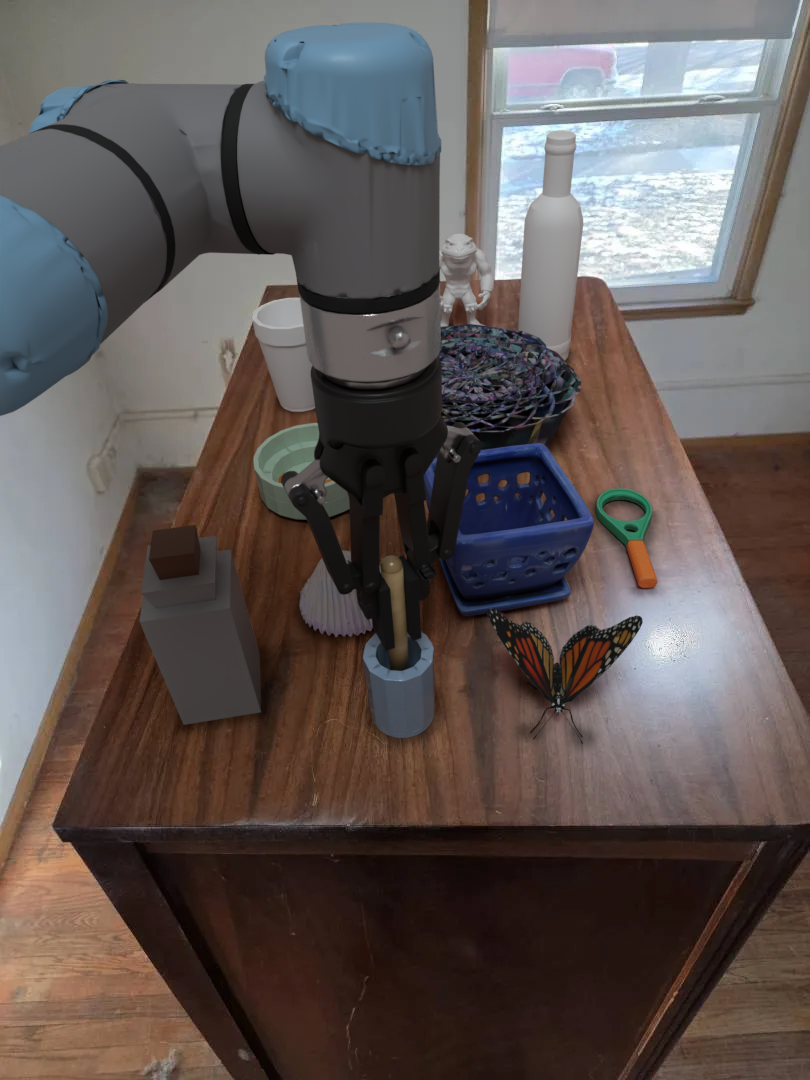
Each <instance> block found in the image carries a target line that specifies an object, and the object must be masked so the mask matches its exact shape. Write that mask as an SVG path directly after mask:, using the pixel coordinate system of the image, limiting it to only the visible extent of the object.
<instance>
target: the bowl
mask: <svg viewBox="0 0 810 1080" xmlns="http://www.w3.org/2000/svg"><path fill="white" fill-rule="evenodd" d="M318 438H319V429H318V423H317V422H309V423H304V424H303V423H302V424H297V425H293V426H290V427H287V428H285V429H282V430H279V431H278V432H276V433H274V434H273V435H271V436H269V437H267V438H266V439H265V440H264V441H263V442H262V443H261V444H260V445H259V446H257V448H256V450H255V453H254V455H253V458H252V460H253V470H254V474H255V479H256V483H257V487H258V491H259V496H260V499H261V501H262V502H263V503H264V505H265V506H266V508H267V509H269V510H270V511H272V512H274V513H275V514H277V515H279V516H281V517H285V518H288V519H292V520H306V521H307V519H306V517H305V516H304V515H303V514H302V513H301V512H299V511H298V510H297V509H296V508H295V507H294V506H293V504H292V502H291V500H290V499H289V497H288V495H287V493H286V491H285V489H284V487H283V485H282V483H278V479H279V477H280V476H281V475H282V474H283V473H286V472H288V471H295V472H297V473H298V474H299V473H300V472H301V471H302V470H304V469H305V468H306V467H307V466H308V465H310V464H311V463H312V462H313V461H314V460H315V458H314V450H315V447H316V444H317V442H318ZM328 479H330V478H327V479H326V480H328ZM324 485H325V489H326V491H327V494H326V497H325V498H326V501H325V503H324V504H322V505H323V506H324V508H325V510H326V512H327V513H328V515H329V518H332V517H334V516H337V515H339V514H342V513H345V512H347V511H348V510H349V511H350V506H349V496H348V493H347V491H346V490H344V489H343V488H342V487H340V486H339V485H338V484H336V483H335V482H334V481H331V482H328V483H325V484H324Z"/></svg>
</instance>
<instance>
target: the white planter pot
mask: <svg viewBox="0 0 810 1080" xmlns="http://www.w3.org/2000/svg"><path fill="white" fill-rule="evenodd" d="M251 319H252V325H253V331H254V336H255V338H257V340H258V344H259V346H260V349H261V353H262V355H263V358H264V361H265V365H266V367H267V369H268V373H269V376H270V379H271V382H272V384H273V385H272V386H273V388H274V391H275V394H276V397H277V400H278V402H279V405H280V407H281V408H283V409H284V410H286V411H289V412H293V413H294V412H295V413H296V412H297V413H303V412H307V411H312V410H314V409H315V402H314V395H313V388H312V382H311V368H312V366H313V365H312V364H311V363H310V361H309V359H308V355H307V348H306V340H305V333H304V326H303V318H302V311H301V303H300V297H286V298H280V299H274V300H271V301H269V302H266V303H263V304H262V305H259V306H258V308H256V309H255V310H254V311H252V318H251Z"/></svg>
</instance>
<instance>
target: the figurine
mask: <svg viewBox="0 0 810 1080" xmlns="http://www.w3.org/2000/svg"><path fill="white" fill-rule="evenodd" d="M439 267H440V269H439V270H440V272H441V273H442V274H443V276H444V278H445V288H444V291H443V294H442V295H441V294H440V307H441V327H442V326H450V319H451V314H452V312H453V310H454V305H455V302H456V301H457V300H460V301H461V302H462V303H463V307H464V310H465V315H466V323H467V324H474V325H483V326H486V325H485V324H482V323H480V321H479V320H478V319H477V318H476V312H477V310H479V311H482V310H483V309H484V308H485V307H487V305H488V304H489V302H490V300H491V295H492V293H493V291H494V288H495V287H494V285H495V278H494V275H493V271H492V266H491V263H490V262H489V261H488V257H487V254H486V253H485V252H484V251H482V250H481V249H480V248H479V247H477V244H476V242H474V239H473V237H470V236H469V235H467V234H464V233H454V234H452V235H450V236H449V237H447V238H446V239H445V240H444V243H443V245H442V246H441V248H439ZM476 270H477V271H478V273H479V274H480V279H479V280H480V281H479V286H480V292H481V293H479V294H478V295H477V296H478V298H479V299H480V298H482V300H481V302H480V303H478V302H477V297H476V296H475V294H474V292H473V289H472V287H471V278H472V276H473V274H474V273H475V272H476Z"/></svg>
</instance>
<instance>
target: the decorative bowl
mask: <svg viewBox="0 0 810 1080" xmlns="http://www.w3.org/2000/svg"><path fill="white" fill-rule="evenodd" d="M483 325H484V324H482V325H474V324H456V325H451V326H450V325H448V326H442V327H441V348H440V352H439V355H438V357H439V358H440V361H441V366H442V413H441V417H442V419H443V421H444V422H445V423H446V425H448V426H452V425H453V424H455V423H457V422H462V423H464V425H465V426H466V427H467V428H468V429H469V430H470V431H471V432H472V433H473V434H474V435H475V436H476V437H477V438H478V439H479V440H480V442H481V443H482V449H481V450H486V449H494V448H500V447H508V446H516V445H525V444H536V443H540V444H544V445H545V446H546V447H547V448H549V446H550V444H551V442H552V440H553V438H554V437H555V435H556V433H557V431H558V429H559V428H560V426H561V424H562V422H563V420H564V418H565V417H566V415H567V413H568V411H569V409H570V408H572V407H573V406H575V404H576V397H577V395H578V394H579V393H580V392H581V390H582V378H580V376H579V375H577V374H576V372H575V369H574V368H573V367H572V366H570V365H569V364H568V363H567V361H566V360H564V359H563V358H562V357H561V356H560V355H559V354H558V353H557V352H556V351H553V350H550V349H548V348H547V347H546V344H545V343H544V342H543V341H542V340H541V339H540V338H539V337H536V336H534V335H531V334H529V333H526V332H524V331H518V329H516V330H515V329H509V328H504V327H495V326H489V325H485V326H483ZM438 453H439V452H438ZM437 457H438V454H437V455H436V457H435V458H437Z"/></svg>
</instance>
